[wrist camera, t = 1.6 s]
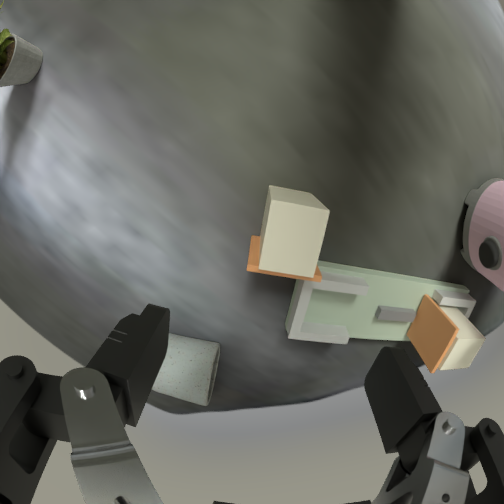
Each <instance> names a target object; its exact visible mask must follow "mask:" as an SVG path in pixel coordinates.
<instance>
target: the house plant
mask: <svg viewBox="0 0 504 504" xmlns="http://www.w3.org/2000/svg"><path fill="white" fill-rule="evenodd" d="M3 2H4V1H3ZM2 4H3V3H2ZM2 4H1V6H2ZM1 6H0V9H1ZM3 12H4V11H3ZM42 59H43V53H42V51H41V50H40V49H39V48H37V47H35V46H34V45H32V44H30V43H29V42H27V41H25V40H23V39H22V38H20V37H18V36H16V35H15V34H10V32H9V30H8V29H4V30H3V31H2V32H1V33H0V87H3V86H10V85H19V84H27V83H28V82H30V81H31V80H32V79H33V78H34V76H35V75H36V74H37V72H38V71H39V69H40V66H41V63H42Z"/></svg>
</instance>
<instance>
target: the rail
mask: <svg viewBox="0 0 504 504" xmlns="http://www.w3.org/2000/svg"><path fill="white" fill-rule="evenodd" d="M317 266H318V268H319V270H320V272H321V275H322V279H321V282H314V281H308V280H301V279H296V283H295V287H294V291H293V295H292V298H291V302H290V306H289V310H288V314H287V317H286V321H285V328H286V331H287V333H288V338H289V339H298V340H306V341H316V342H326V343H338V344H347V343H348V340H349V338H362V339H377V340H396V341H411V342H412V344H413V345H414V347H415V348H416V350H417V352H418V353H419V355H420V356H421V358H422V360H423V361H424V363H425V365H426V366H427V368H428V369H429V371H430V373H434V372H435V371H436V369H437V368H438V369H439V370H450V369H451V370H452V369H462V368H469V366H470V364H471V363H472V361H473V360H474V358H475V356H476V355H477V353H478V351H479V350H480V348H481V346H482V344H483V343H484V341H485V339H486V338H485V337H484V336H483V335H482V334H481V333H480V332H479V331H478V329H477V328H476V327H475V326H474V325H473V324H472V323H471V322H470V321H469V320H468V318H469V316H470V314H471V312H472V310H473V308H474V306H475V303H476V300H475V299H474V298H472V297H471V296H470V295H469V294H468V293H469V291H470V290H469V289H468V288H466V287H465V286H464V285H460V284H454V283H448V282H442V281H437V280H431V279H425V278H419V277H413V276H407V275H402V274H396V273H390V272H384V271H378V270H372V269H366V268H360V267H355V266H349V265H343V264H337V263H331V262H325V261H319V260H318V262H317Z"/></svg>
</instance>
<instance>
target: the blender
mask: <svg viewBox="0 0 504 504" xmlns="http://www.w3.org/2000/svg"><path fill="white" fill-rule="evenodd" d="M465 204H466V205H468V206H469V207H468V210H467V213H466V217H465V221H464V227H463V248H462V249H461V250H460V251H461V254H462V256H463V258H464V260H465V261H466V262H467V263H468V264H469V265H470V266H471V267H472V268H473V269H474V270H476V271H477V272H478V273H480V274H481V275H483V276H484V277H486V278H487V279H488V280H489V281H491V282H492V283H493V284H494V285H496V286H497V287H498V288H499V289H501V290H502V291H503V292H504V179H500V178H493V179H490V180H488V181H486V182H485V183H483V184H482V185H481V186H480V188H479V189H478V190H476V189H472V190H471V191H470V192H469V194H468V195H467V197H466V199H465Z"/></svg>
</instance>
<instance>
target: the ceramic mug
mask: <svg viewBox="0 0 504 504" xmlns="http://www.w3.org/2000/svg"><path fill="white" fill-rule="evenodd" d="M219 355H220V344H219V343H217V342H210V341H205V340H201V339H195V338H190V337H184V336H180V335H176V334H171V333H169V339H168V348H167V353H166V356H165V359H164V361H163V364H162V366H161V368H160V371H159V373H158V375H157V378H156V380H155V382H154V385H153V387H152V390H154V391H157V392H159V393H163V394H166V395H170V396H173V397H176V398H179V399H183V400H186V401H189V402H193V403H196V404H200V405H204V406H207V405H208V404H209V402H210V399H211V395H212V391H213V387H214V382H215V377H216V372H217V367H218V361H219Z"/></svg>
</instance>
